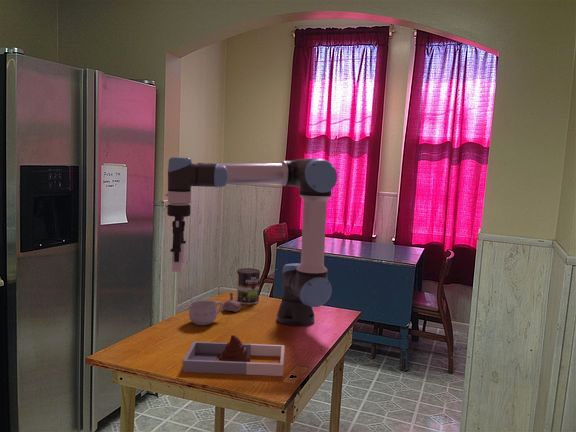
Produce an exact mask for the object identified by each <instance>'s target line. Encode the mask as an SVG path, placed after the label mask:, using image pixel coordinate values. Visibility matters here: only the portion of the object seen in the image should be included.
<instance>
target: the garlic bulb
mask: <svg viewBox="0 0 576 432" xmlns="http://www.w3.org/2000/svg"><path fill="white" fill-rule="evenodd" d="M233 295H234V294H233V291H231V292H230V293H229V296H230V298H229V300H228V299H227V300H226V301H225V302H223V309H222V310H224V311H227V312H234V313H237V312H239V311H241V309H242V304H240V303H239V302H237V301H236V300H234V297H233Z"/></svg>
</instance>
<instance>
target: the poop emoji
mask: <svg viewBox="0 0 576 432" xmlns="http://www.w3.org/2000/svg"><path fill="white" fill-rule="evenodd" d="M226 343H227V344H226V346H225V349H224V350H223V352H222V354H220V355H219V356H218V358H217V359H218V360H217V361H235V362H251V357H250V356H251V355H248V354H247V353H248V352H247V349H246V348H245V347H244V345H243V344H244V343H242V342H241V339H239V337H237V336H236V335H234V334H232V335H230V340H229V342H226Z"/></svg>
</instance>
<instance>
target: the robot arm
mask: <svg viewBox="0 0 576 432" xmlns="http://www.w3.org/2000/svg"><path fill="white" fill-rule="evenodd" d="M167 163H168V166H167V193H165V197H167V203H168V205H167V208H166V209H167V211H166V213H167V216H169V217H174V220H173V221H172V225H171V226H172V248H170V249H169V250H170V251H169V252H170V253H172V262H171V263H172V264H171V266H172V267H171V272H172V273H173V272H176V273H177V272H178V273H181V271H182V264H183V263H184V245H186V240H185V238H184V237H185V235H184V233H185V226H186V220H184V219H185V217H190V216H191V207H192V206H191V203H192V187H206V188H221V187H222V188H223V187H225V186H226V185H237V184H239V185H242V184H243V185H245V184H246V185H247V184H249V185H251V184H254V185H257V184H258V185H259V184H263V185H264V184H279V185H281V186H283V187H294V188H295V187H296V188H299V193H298V195H299V196H300V198H301V199H302V224H301V225H302V226H301V246H300V247H301V249H300V250H301V251H300V263H296V262H295V263H294V262H293V263H286V264H284V265H283V267H282V273H281V274H282V281H281V282H282V283H281V284H282V285H281V302H280V305H279V308H278V310H277V313H276V320H277V322H278V323H280V324H283V325H286V326H293V327H303V326H309V325H312V324H314V322H315V312H314V309H313V308H318V307H321V306H323V305H324V304H326V303H327V302H328V301H329V299H330V298H331V296H332V293H333V292H332V291H333V290H332V285H331V282H330V281H329V280H328V272H329V271H328V267H326V266H325V247H326V245H325V243H326V228H327V227H326V226H327V225H326V224H327V222H326V221H327V207H328V206H327V205H328V200H329V199H330V198H332V190H333V188H334V187H335V186H336V185H337V181H338V172H337V169H336V167H335V166H334V165H333V164H332V163H331V162H330V161H328V160H326V159H323V158H318V157H317V158H308V157H307V158H301V159H300V158H298V159H292V160H282V161H280V163H275V162H274V163H268V162H267V163H261V162H260V163H259V162H258V163H253V162H252V163H248V162H247V163H240V162H239V163H238V162H237V163H232V162H231V163H230V162H229V163H226V162H225V163H213V162H212V163H211V162H209V163H206V162H205V163H204V162H197V163H193V162H192V158H190V157H181V156H180V157H178V156H172V157H170V158H169V159H168V162H167Z"/></svg>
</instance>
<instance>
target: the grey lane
mask: <svg viewBox="0 0 576 432" xmlns="http://www.w3.org/2000/svg"><path fill="white" fill-rule="evenodd" d="M227 343H228V342H217V341H216V342H215V341H214V342H213V341H193V342H192V344H191V345H190V347H189V349H188V352H187V353H186V355H185V357H184V358H183V360H182V373H196V374H197V373H200V374H201V373H202V374H203V373H204V374H220V375H221V374H223V375H225V374H227V375H246V364H247V362H235V361H218V360H217V359H218V358H219V355H222V352H223V350H224V349H225V346H226V344H227ZM242 344H243V345H244V347H245V348H246V349H247V352H248V353H247V354H248V355H249V356H252V355H251V344H252V343H242ZM246 376H247V375H246Z"/></svg>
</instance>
